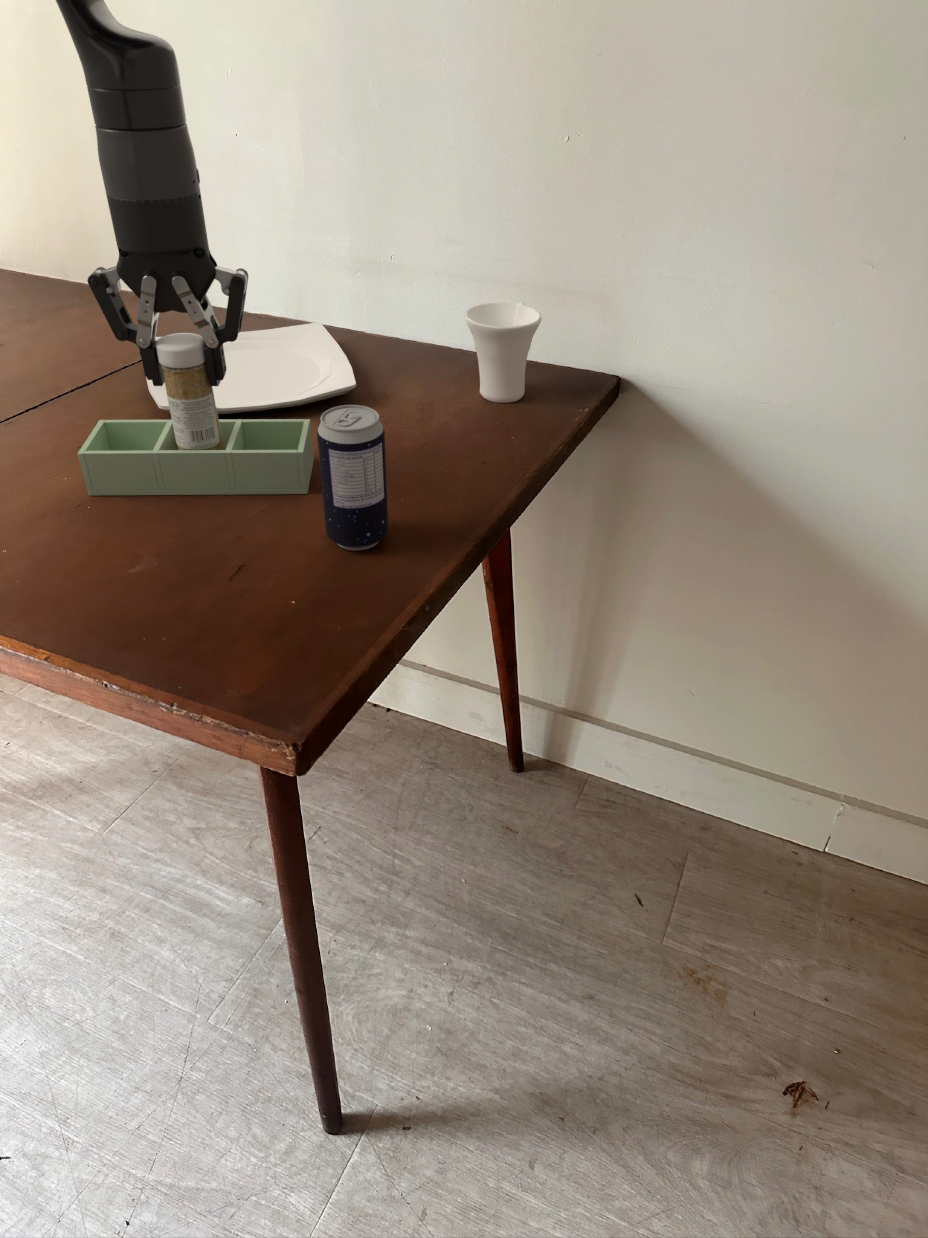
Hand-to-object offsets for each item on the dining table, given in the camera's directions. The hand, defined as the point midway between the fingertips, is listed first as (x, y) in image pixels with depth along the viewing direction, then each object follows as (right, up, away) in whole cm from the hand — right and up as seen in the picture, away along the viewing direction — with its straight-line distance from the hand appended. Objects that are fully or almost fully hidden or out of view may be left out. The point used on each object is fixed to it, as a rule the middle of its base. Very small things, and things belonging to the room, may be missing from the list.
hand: (188, 382), depth 82 cm
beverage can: (+16, -15, -2) cm, 22 cm away
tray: (0, -8, +6) cm, 10 cm away
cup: (+31, +5, +25) cm, 40 cm away
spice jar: (0, -8, +6) cm, 10 cm away
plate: (0, +7, +26) cm, 27 cm away
